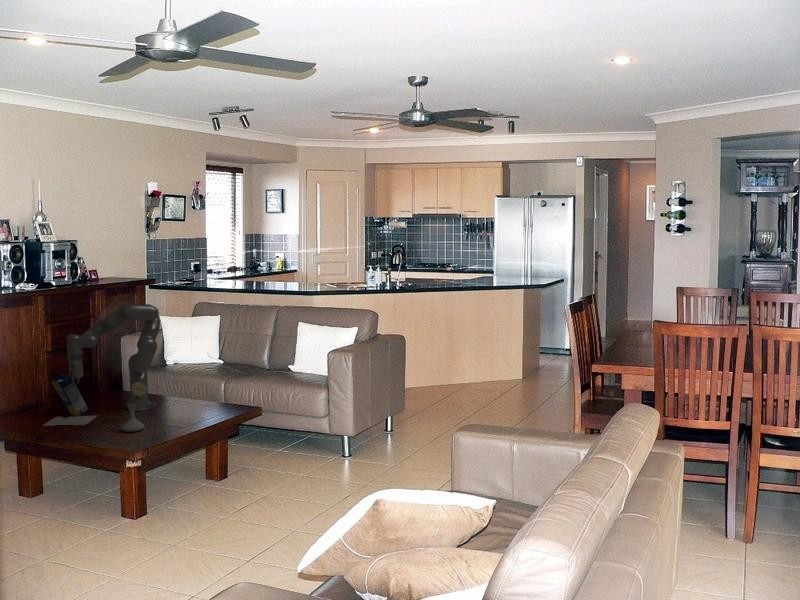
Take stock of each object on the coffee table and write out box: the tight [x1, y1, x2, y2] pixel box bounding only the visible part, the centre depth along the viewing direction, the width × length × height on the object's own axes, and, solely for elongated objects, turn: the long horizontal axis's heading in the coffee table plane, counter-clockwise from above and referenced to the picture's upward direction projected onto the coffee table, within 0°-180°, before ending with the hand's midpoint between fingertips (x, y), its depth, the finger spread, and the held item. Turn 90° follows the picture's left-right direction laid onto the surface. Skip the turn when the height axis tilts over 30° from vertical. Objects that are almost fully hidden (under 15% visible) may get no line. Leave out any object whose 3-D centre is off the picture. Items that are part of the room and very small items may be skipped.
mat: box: [42, 415, 98, 427], centre depth 449 cm, size 22×20×1 cm
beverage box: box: [50, 373, 90, 416], centre depth 460 cm, size 7×11×22 cm, turn 49°
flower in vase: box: [120, 382, 146, 433], centre depth 426 cm, size 13×11×25 cm
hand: (76, 390), depth 459 cm, fingers closed
